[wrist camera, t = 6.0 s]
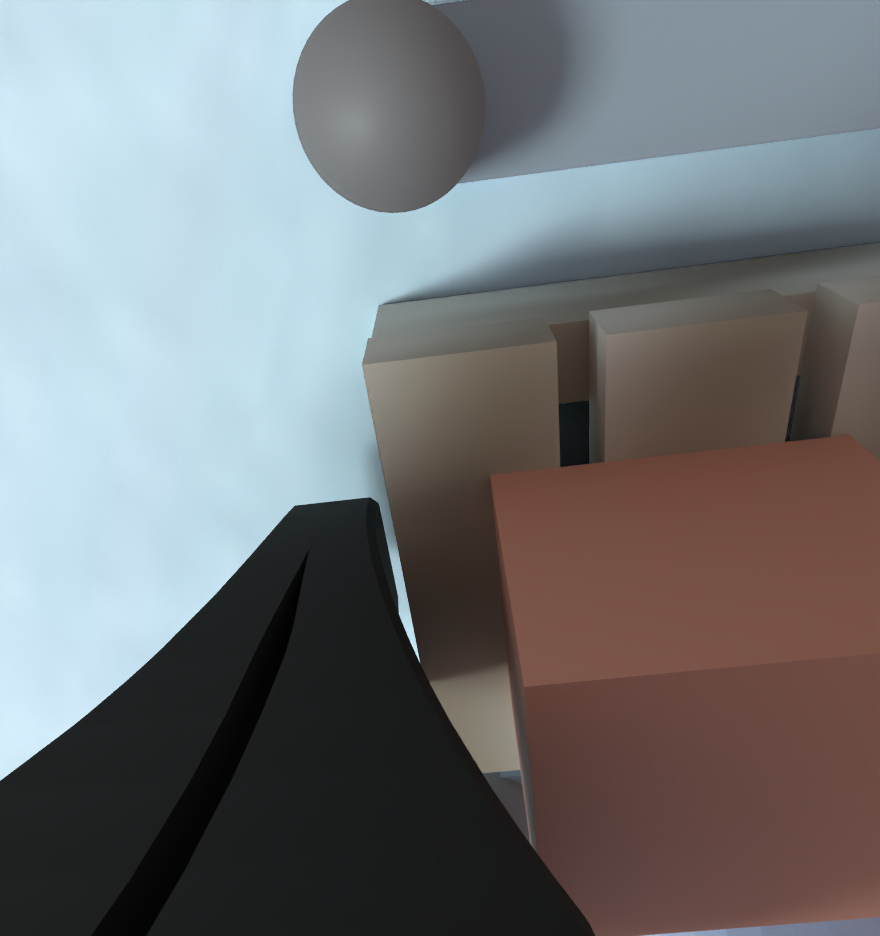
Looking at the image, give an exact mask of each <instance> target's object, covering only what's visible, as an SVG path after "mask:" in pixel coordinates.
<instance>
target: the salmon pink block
mask: <svg viewBox="0 0 880 936" xmlns="http://www.w3.org/2000/svg"><path fill="white" fill-rule="evenodd" d="M490 481H491V491H492V502H493V513H494V523H495V534H496V545H497V555H498V566H499V577H500V587H501V598H502V609H503V620H504V630H505V641H506V652H507V662H508V673H509V684H510V694H511V705H512V713H513V720H514V728H515V735H516V742H517V750H518V757H519V764H520V772H521V779H522V786H523V794H524V801H525V808H526V815H527V823H528V830H529V837H530V844H531V845H532V847H533V848H534V850H535V851H536V852H537V854H538V855H539V856H540V858H541V859H542V861H543V862H544V863H545V865H546V866H547V867H548V869H549V870H550V871H551V873H552V874H553V876H554V877H555V878H556V880H557V881H558V882H559V883H560V885H561V886H562V887H563V889H564V890H565V891H566V893H567V894H568V895H569V896H570V898H571V899H572V900H573V902H574V903H575V904H576V906H577V907H578V908H579V910H580V911H581V912H582V913H583V915H584V916H585V918H586V919H587V921H588V922H589V924H590V925H591V928H592V930H593V932H594V934H595V936H643V935H656V934H668V933H681V932H694V931H707V930H720V929H733V928H746V927H759V926H772V925H785V924H798V923H811V922H824V921H836V920H849V919H862V918H875V917H880V461H879V460H878V459H877V458H876V457H875V456H873V455H872V454H871V453H870V452H869V451H867V450H866V449H865V448H864V447H863V446H861V445H860V444H859V443H858V442H857V441H855V440H854V439H853V438H852V437H851V436H849V435H844V436H835V437H826V438H817V439H808V440H799V441H790V442H781V443H772V444H763V445H754V446H745V447H736V448H727V449H718V450H709V451H700V452H691V453H682V454H673V455H664V456H655V457H646V458H637V459H628V460H619V461H610V462H601V463H592V464H583V465H574V466H565V467H556V468H547V469H538V470H529V471H520V472H511V473H502V474H493V475H490Z"/></svg>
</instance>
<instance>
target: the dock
mask: <svg viewBox="0 0 880 936" xmlns="http://www.w3.org/2000/svg"><path fill="white" fill-rule="evenodd" d="M293 112H294V118H295V125H296V128H297V132H298V136H299V139H300V141H301V144H302V147H303V149H304V151H305V153H306V155H307V157H308V159H309V161H310V163H311V164H312V166H313V167H314V169H315V170H316V171H317V173H318V174H319V175H320V177H321V178H322V179H323V180H324V181H325V182H326V183H327V184H328V185H329V186H330V187H331V188H332V189H333V190H334V191H335V192H337V193H338V194H339V195H341V196H342V197H344V198H345V199H347V200H349V201H350V202H352V203H354V204H356V205H358V206H361V207H364V208H367V209H370V210H374V211H379V212H388V213H397V212H407V211H412V210H416V209H419V208H422V207H425V206H427V205H429V204H431V203H433V202H435V201H437V200H438V199H440V198H441V197H442V196H444V195H445V194H447V193H448V192H449V191H450V190H451V189H452V188H453V187H454V186H455V185H456V184H457V183H465V182H473V181H480V180H488V179H495V178H503V177H511V176H518V175H526V174H533V173H541V172H549V171H556V170H564V169H572V168H579V167H587V166H594V165H602V164H610V163H617V162H625V161H632V160H640V159H648V158H655V157H663V156H670V155H678V154H686V153H693V152H701V151H708V150H716V149H724V148H731V147H739V146H747V145H754V144H762V143H769V142H777V141H785V140H792V139H800V138H807V137H815V136H823V135H830V134H838V133H845V132H853V131H861V130H868V129H876V128H880V0H468V1H461V2H455V3H448V4H441V5H434V6H431V5H430V4H428V3H427V2H424V1H422V0H349V1H347V2H345V3H343V4H342V5H340V6H338V7H337V8H335V9H334V10H333V11H332V12H330V13H329V14H328V15H327V16H326V17H325V18H324V19H323V20H322V21H321V22H320V23H319V24H318V26H317V27H316V28H315V29H314V31H313V32H312V34H311V35H310V37H309V38H308V40H307V42H306V44H305V46H304V48H303V50H302V52H301V55H300V58H299V61H298V64H297V68H296V73H295V78H294V85H293ZM483 775H484V776H485V778H486V780H487V781H488V783H489V785H490V786H491V788H492V789H493V791H494V792H495V794H496V795H497V797H498V798H499V799H500V801H501V802H502V804H503V805H504V807H505V808H506V810H507V811H508V813H509V814H510V815H511V817H512V818H513V820H514V821H515V823H516V824H517V826H518V827H519V829H520V830H521V832H522V833H523V834H524V836H525V837H526V839H527V840H528V841H529V843H530V837H529V830H528V823H527V815H526V808H525V801H524V794H523V786H522V779H521V772H520V770H513V771H502V772H491V773H483Z"/></svg>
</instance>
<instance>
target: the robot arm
mask: <svg viewBox="0 0 880 936" xmlns="http://www.w3.org/2000/svg"><path fill="white" fill-rule="evenodd" d="M0 936H595V934H594V932H593V930H592V928H591V925H590V924H589V922H588V921H587V919H586V918H585V916H584V915H583V913H582V912H581V911H580V910H579V908H578V907H577V906H576V904H575V903H574V902H573V900H572V899H571V898H570V896H569V895H568V894H567V893H566V891H565V890H564V889H563V887H562V886H561V885H560V883H559V882H558V881H557V880H556V878H555V877H554V876H553V874H552V873H551V871H550V870H549V869H548V867H547V866H546V865H545V863H544V862H543V861H542V859H541V858H540V856H539V855H538V854H537V852H536V851H535V850H534V848H533V847H532V845H531V844H530V843H529V841H528V840H527V839H526V837H525V836H524V834H523V833H522V832H521V830H520V829H519V827H518V826H517V824H516V823H515V821H514V820H513V818H512V817H511V815H510V814H509V813H508V811H507V810H506V808H505V807H504V805H503V804H502V802H501V801H500V799H499V798H498V797H497V795H496V794H495V792H494V791H493V789H492V788H491V786H490V785H489V783H488V781H487V780H486V778H485V776H484V775H483V773H482V772H481V770H480V768H479V767H478V765H477V764H476V762H475V760H474V759H473V757H472V755H471V754H470V752H469V751H468V749H467V747H466V746H465V744H464V743H463V741H462V739H461V738H460V736H459V734H458V733H457V731H456V730H455V728H454V726H453V725H452V723H451V721H450V720H449V718H448V716H447V714H446V712H445V710H444V709H443V707H442V705H441V703H440V701H439V699H438V698H437V696H436V694H435V692H434V690H433V688H432V686H431V684H430V682H429V680H428V678H427V676H426V674H425V672H424V670H423V668H422V666H421V664H420V662H419V660H418V658H417V656H416V654H415V652H414V649H413V647H412V645H411V643H410V640H409V638H408V636H407V634H406V631H405V629H404V626H403V624H402V621H401V619H400V616H399V610H398V595H397V590H396V585H395V580H394V575H393V570H392V565H391V561H390V556H389V551H388V546H387V541H386V536H385V531H384V527H383V522H382V517H381V512H380V507H379V503H377V502H376V501H374V500H373V499H372V498H370V497H369V498H360V499H351V500H342V501H333V502H324V503H316V504H307V505H298V506H294V507H293V508H292V509H291V510H290V511H289V512H288V514H287V515H286V516H285V517H284V518H283V519H282V520H281V521H280V523H279V524H278V525H277V526H276V527H275V528H274V529H273V531H272V532H271V533H270V534H269V535H268V536H267V538H266V539H265V540H264V541H263V542H262V543H261V544H260V546H259V547H258V548H257V549H256V550H255V551H254V552H253V554H252V555H251V556H250V557H249V558H248V559H247V560H246V561H245V563H244V564H243V565H242V566H241V567H240V568H239V569H238V570H237V571H236V573H235V574H234V575H233V576H232V577H231V578H230V579H229V580H228V581H227V582H226V584H225V585H224V586H223V587H222V588H221V589H220V590H219V591H218V592H217V594H216V595H215V596H214V597H213V598H212V599H211V600H210V601H209V602H208V603H207V604H206V605H205V606H204V607H203V608H202V609H201V610H200V611H199V612H198V613H197V614H196V615H195V616H194V617H193V618H192V619H191V620H190V621H189V622H188V623H187V624H186V625H185V626H184V627H183V628H182V629H181V630H180V631H179V632H178V633H177V634H176V635H175V636H174V637H173V638H172V639H171V640H170V641H169V642H168V643H167V644H166V645H165V646H164V647H163V648H162V649H161V650H160V651H159V652H158V653H157V654H156V655H155V656H154V657H152V658H151V659H150V660H149V661H148V662H147V663H146V664H145V665H144V666H143V667H142V668H140V669H139V670H138V671H137V672H136V673H135V674H134V675H133V676H132V677H130V678H129V679H128V680H127V681H126V682H125V683H124V684H122V685H121V686H120V687H119V688H118V689H117V690H115V691H114V692H113V693H112V694H111V695H110V696H108V697H107V698H106V699H105V700H104V701H102V702H101V703H100V704H99V705H98V706H97V707H95V708H94V709H93V710H92V711H91V712H90V713H88V714H87V715H86V716H85V717H83V718H82V719H81V720H80V721H78V722H77V723H76V724H75V725H74V726H72V727H71V728H70V729H68V730H67V731H66V732H64V733H63V734H62V735H60V736H59V737H58V738H56V739H55V740H54V741H52V742H51V743H50V744H49V745H47V746H46V747H45V748H43V749H42V750H41V751H39V752H38V753H37V754H35V755H34V756H33V757H31V758H30V759H29V760H27V761H26V762H25V763H23V764H22V765H21V766H19V767H18V768H17V769H15V770H14V771H13V772H11V773H10V774H9V775H8V776H6V777H5V778H4V779H2V780H1V781H0ZM643 936H880V917H875V918H862V919H849V920H836V921H824V922H811V923H798V924H785V925H772V926H759V927H746V928H733V929H720V930H707V931H694V932H681V933H668V934H656V935H643Z"/></svg>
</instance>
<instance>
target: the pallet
mask: <svg viewBox="0 0 880 936" xmlns="http://www.w3.org/2000/svg"><path fill="white" fill-rule="evenodd" d="M362 367H363V372H364V377H365V382H366V388H367V393H368V398H369V403H370V408H371V413H372V418H373V423H374V428H375V434H376V439H377V444H378V449H379V454H380V459H381V464H382V469H383V474H384V480H385V485H386V490H387V495H388V500H389V505H390V510H391V515H392V520H393V526H394V531H395V536H396V541H397V546H398V551H399V556H400V561H401V566H402V572H403V577H404V582H405V587H406V592H407V597H408V602H409V607H410V612H411V618H412V623H413V628H414V633H415V638H416V643H417V648H418V653H419V658H420V664H421V666H422V668H423V670H424V672H425V674H426V676H427V678H428V680H429V682H430V684H431V686H432V688H433V690H434V692H435V694H436V696H437V698H438V699H439V701H440V703H441V705H442V707H443V709H444V710H445V712H446V714H447V716H448V718H449V720H450V721H451V723H452V725H453V726H454V728H455V730H456V731H457V733H458V734H459V736H460V738H461V739H462V741H463V743H464V744H465V746H466V747H467V749H468V751H469V752H470V754H471V755H472V757H473V759H474V760H475V762H476V764H477V765H478V767H479V768H480V770H481V772H482V773H491V772H502V771H513V770H520V764H519V757H518V750H517V742H516V735H515V728H514V720H513V713H512V705H511V694H510V684H509V673H508V662H507V652H506V641H505V630H504V620H503V609H502V598H501V587H500V577H499V566H498V555H497V545H496V534H495V523H494V513H493V502H492V491H491V481H490V475H493V474H502V473H511V472H520V471H529V470H538V469H547V468H556V467H560V438H559V404H562V403H570V402H579V401H587V400H589V464H592V463H601V462H610V461H619V460H628V459H637V458H646V457H655V456H664V455H673V454H682V453H691V452H700V451H709V450H718V449H727V448H736V447H745V446H754V445H763V444H772V443H781V442H785V438H786V432H787V427H788V421H789V415H790V409H791V404H792V398H793V392H794V387H795V381H796V376H800V382H799V387H798V393H797V398H796V404H795V410H794V415H793V421H792V426H791V432H790V437H789V442H790V441H799V440H808V439H817V438H826V437H835V436H844V435H849V436H851V437H852V438H853V439H854V440H855V441H857V442H858V443H859V444H860V445H861V446H863V447H864V448H865V449H866V450H867V451H869V452H870V453H871V454H872V455H873V456H875V457H876V458H877V459H878V460H879V461H880V242H878V243H870V244H863V245H855V246H847V247H839V248H831V249H823V250H815V251H807V252H799V253H791V254H783V255H775V256H767V257H759V258H751V259H743V260H735V261H728V262H720V263H712V264H704V265H696V266H688V267H680V268H672V269H664V270H656V271H648V272H640V273H632V274H624V275H616V276H608V277H600V278H593V279H585V280H577V281H569V282H561V283H553V284H545V285H537V286H529V287H521V288H513V289H505V290H497V291H489V292H481V293H473V294H465V295H457V296H450V297H442V298H434V299H426V300H418V301H410V302H402V303H394V304H386V305H379V306H378V311H377V315H376V320H375V325H374V329H373V334H372V338H368V341H367V346H366V350H365V354H364V359H363V363H362Z"/></svg>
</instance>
